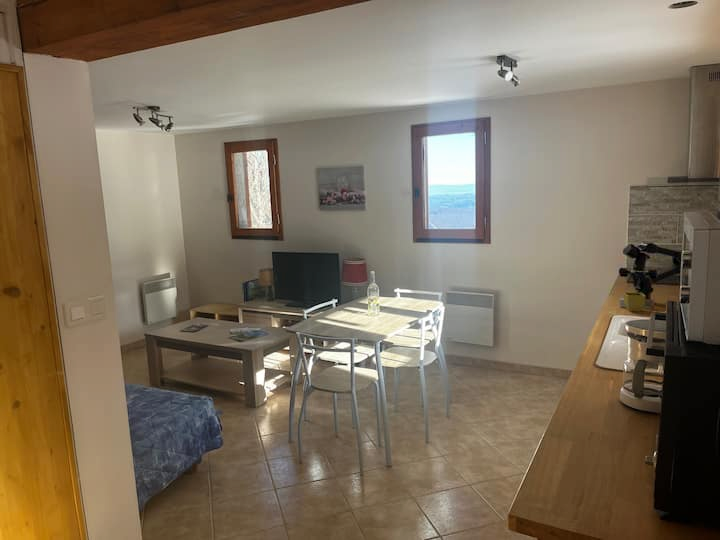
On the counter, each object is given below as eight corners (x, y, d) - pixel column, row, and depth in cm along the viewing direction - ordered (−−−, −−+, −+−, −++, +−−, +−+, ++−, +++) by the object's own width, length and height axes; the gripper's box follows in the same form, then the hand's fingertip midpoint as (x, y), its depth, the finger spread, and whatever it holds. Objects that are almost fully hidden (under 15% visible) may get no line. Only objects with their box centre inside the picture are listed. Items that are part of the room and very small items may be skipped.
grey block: (620, 306, 296) (620, 298, 295) (629, 306, 294) (629, 298, 293) (619, 307, 292) (620, 299, 291) (629, 308, 290) (629, 300, 289)
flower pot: (645, 312, 279) (646, 295, 277) (627, 312, 280) (627, 295, 279) (640, 308, 287) (640, 292, 286) (622, 308, 289) (623, 292, 288)
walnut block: (645, 307, 291) (646, 299, 291) (653, 308, 287) (654, 300, 287) (640, 308, 289) (640, 300, 288) (648, 309, 285) (648, 301, 284)
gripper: (660, 271, 298) (656, 295, 292) (624, 269, 309) (619, 292, 303) (658, 260, 290) (653, 284, 284) (621, 258, 302) (615, 281, 295)
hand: (635, 286), depth 292 cm, fingers closed
